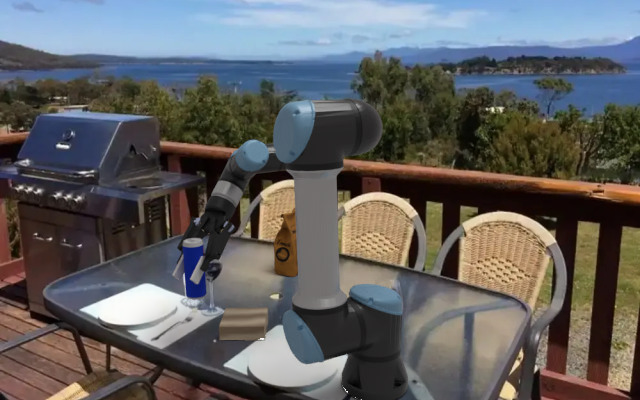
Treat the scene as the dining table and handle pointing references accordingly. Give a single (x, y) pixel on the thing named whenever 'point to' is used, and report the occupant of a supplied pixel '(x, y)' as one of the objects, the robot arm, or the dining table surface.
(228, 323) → the oak block
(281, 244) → the coffee package
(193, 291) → the beverage can
